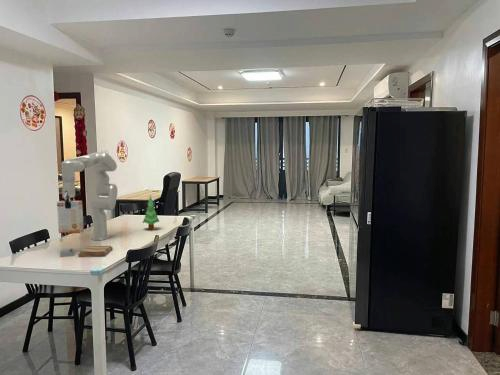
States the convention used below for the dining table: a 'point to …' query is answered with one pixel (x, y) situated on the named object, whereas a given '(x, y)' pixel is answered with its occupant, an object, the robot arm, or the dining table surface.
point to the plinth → (95, 251)
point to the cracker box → (70, 217)
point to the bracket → (67, 253)
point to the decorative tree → (150, 215)
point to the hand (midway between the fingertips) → (70, 207)
